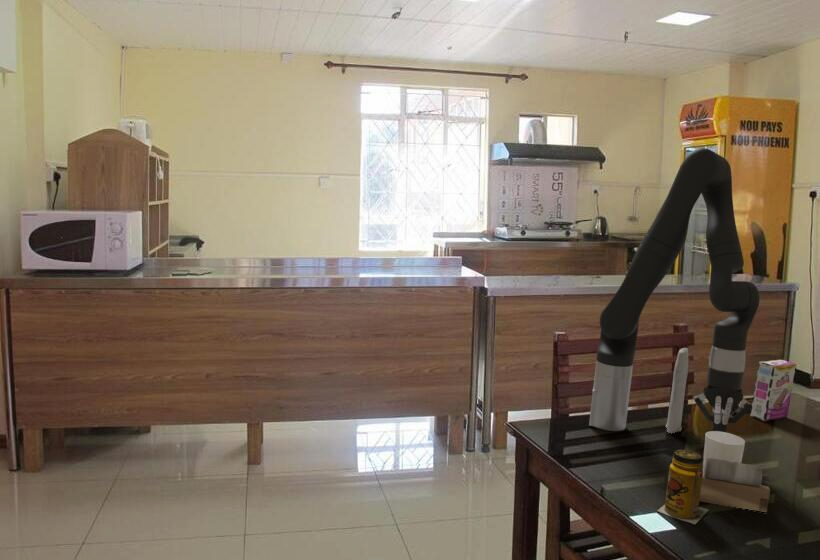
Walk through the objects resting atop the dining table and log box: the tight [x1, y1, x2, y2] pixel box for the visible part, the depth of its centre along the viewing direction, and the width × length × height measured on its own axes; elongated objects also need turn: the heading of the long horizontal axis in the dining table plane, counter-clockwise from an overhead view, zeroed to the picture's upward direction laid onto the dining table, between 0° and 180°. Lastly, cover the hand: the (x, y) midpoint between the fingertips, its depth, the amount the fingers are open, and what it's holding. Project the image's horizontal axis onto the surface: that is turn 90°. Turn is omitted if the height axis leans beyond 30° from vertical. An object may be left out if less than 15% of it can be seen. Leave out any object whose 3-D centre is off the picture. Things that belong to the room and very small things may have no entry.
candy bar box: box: [749, 359, 797, 422], centre depth 198 cm, size 11×5×16 cm, turn 120°
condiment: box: [656, 449, 709, 525], centre depth 134 cm, size 7×8×12 cm
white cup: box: [702, 430, 746, 475], centre depth 150 cm, size 8×8×10 cm
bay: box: [699, 458, 775, 513], centre depth 145 cm, size 18×14×9 cm
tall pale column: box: [665, 347, 689, 435], centre depth 181 cm, size 11×4×22 cm, turn 148°
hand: (718, 438), depth 161 cm, fingers closed
